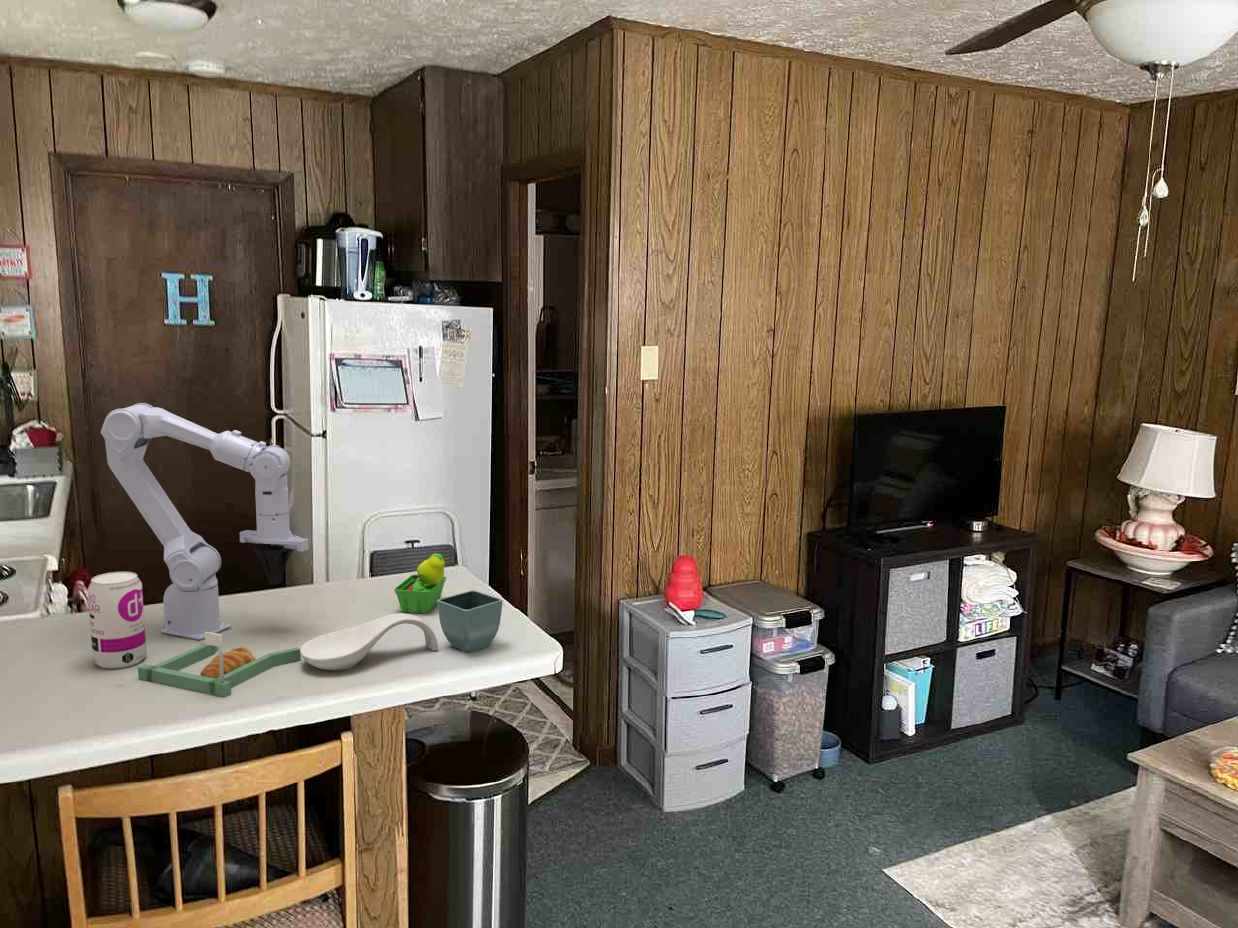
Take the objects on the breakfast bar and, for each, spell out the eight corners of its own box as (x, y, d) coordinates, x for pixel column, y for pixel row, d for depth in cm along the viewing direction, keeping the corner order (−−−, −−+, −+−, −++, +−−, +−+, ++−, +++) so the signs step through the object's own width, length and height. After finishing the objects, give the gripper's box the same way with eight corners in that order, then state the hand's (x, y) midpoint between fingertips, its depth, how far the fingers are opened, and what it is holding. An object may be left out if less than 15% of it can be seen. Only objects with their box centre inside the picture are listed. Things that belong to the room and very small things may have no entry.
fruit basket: (412, 596, 208) (411, 545, 206) (453, 599, 207) (452, 547, 205) (393, 614, 197) (392, 559, 195) (435, 616, 196) (435, 562, 193)
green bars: (135, 678, 162) (131, 620, 161) (217, 642, 179) (214, 589, 177) (227, 697, 156) (224, 637, 154) (303, 658, 172) (301, 604, 170)
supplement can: (157, 656, 172) (152, 573, 169) (119, 673, 164) (113, 586, 162) (121, 649, 175) (115, 568, 172) (82, 666, 167) (75, 581, 164)
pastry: (222, 689, 159) (221, 667, 159) (189, 683, 162) (187, 661, 161) (261, 669, 168) (260, 647, 167) (229, 663, 170) (228, 642, 170)
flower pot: (435, 646, 180) (435, 599, 178) (473, 634, 186) (473, 589, 184) (465, 659, 174) (465, 610, 172) (504, 646, 180) (504, 599, 178)
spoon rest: (310, 683, 163) (308, 641, 161) (293, 659, 172) (292, 620, 171) (445, 658, 175) (445, 619, 173) (422, 637, 184) (422, 601, 183)
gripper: (318, 512, 182) (320, 582, 185) (257, 504, 188) (260, 572, 190) (292, 520, 176) (295, 593, 178) (230, 511, 182) (233, 582, 184)
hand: (275, 583), depth 184 cm, fingers closed
